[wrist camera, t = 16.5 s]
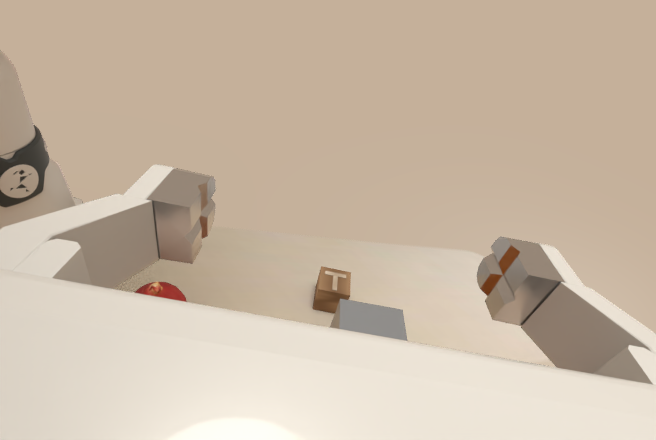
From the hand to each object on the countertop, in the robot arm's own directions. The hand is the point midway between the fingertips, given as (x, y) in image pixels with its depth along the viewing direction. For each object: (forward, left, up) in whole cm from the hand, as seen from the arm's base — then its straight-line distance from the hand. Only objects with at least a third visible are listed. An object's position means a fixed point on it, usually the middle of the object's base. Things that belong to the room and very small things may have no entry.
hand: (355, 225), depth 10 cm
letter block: (-3, +23, -30) cm, 38 cm away
